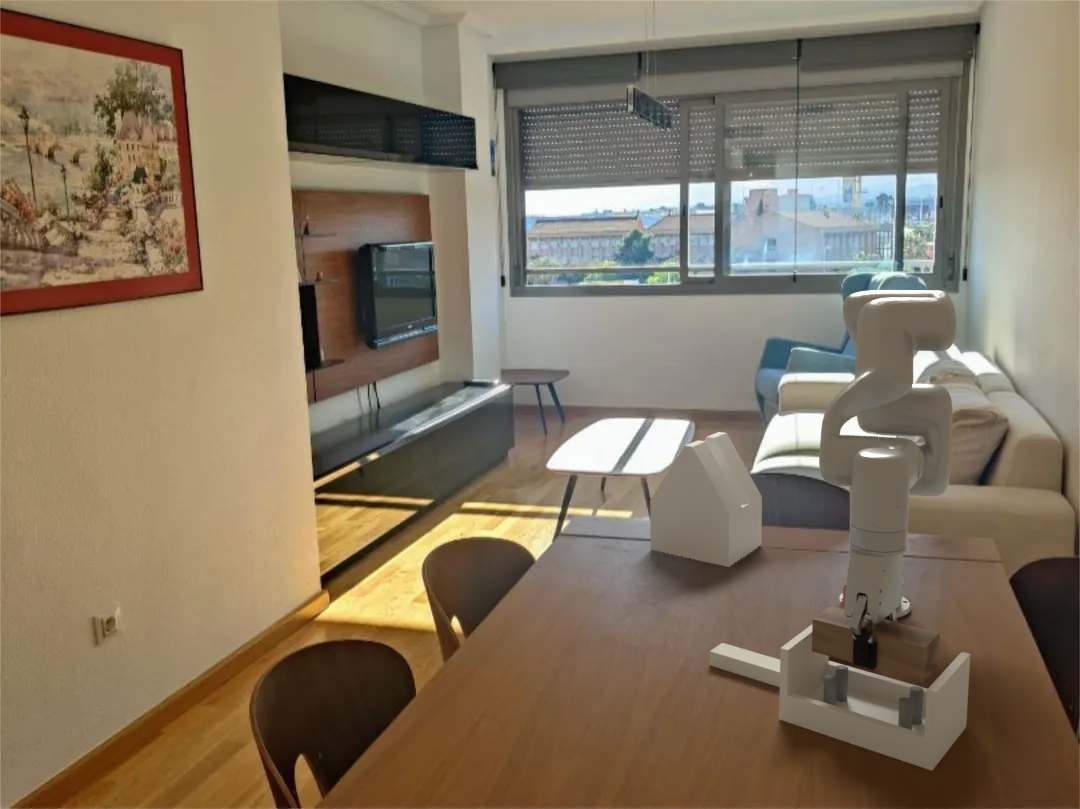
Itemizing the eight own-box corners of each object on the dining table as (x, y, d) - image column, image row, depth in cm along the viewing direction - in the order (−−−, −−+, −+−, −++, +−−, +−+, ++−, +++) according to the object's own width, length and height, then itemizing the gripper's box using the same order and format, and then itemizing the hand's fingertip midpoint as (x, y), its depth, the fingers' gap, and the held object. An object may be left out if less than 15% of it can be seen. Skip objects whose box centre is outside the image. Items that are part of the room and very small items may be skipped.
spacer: (722, 656, 163) (722, 642, 162) (799, 680, 154) (800, 665, 153) (709, 665, 160) (709, 651, 159) (788, 689, 151) (788, 675, 150)
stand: (820, 683, 153) (822, 616, 151) (966, 727, 139) (970, 654, 136) (779, 719, 142) (780, 648, 140) (932, 770, 128) (936, 692, 126)
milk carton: (650, 550, 216) (649, 440, 211) (685, 531, 227) (685, 427, 223) (729, 567, 204) (729, 451, 199) (761, 546, 216) (762, 437, 211)
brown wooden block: (829, 637, 146) (830, 606, 145) (938, 666, 136) (940, 632, 135) (811, 651, 141) (812, 619, 140) (923, 682, 131) (924, 647, 130)
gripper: (876, 517, 144) (871, 631, 147) (826, 548, 131) (822, 672, 134) (927, 526, 139) (921, 644, 142) (881, 560, 126) (876, 688, 130)
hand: (873, 656), depth 138 cm, fingers closed on brown wooden block, 6 cm apart
